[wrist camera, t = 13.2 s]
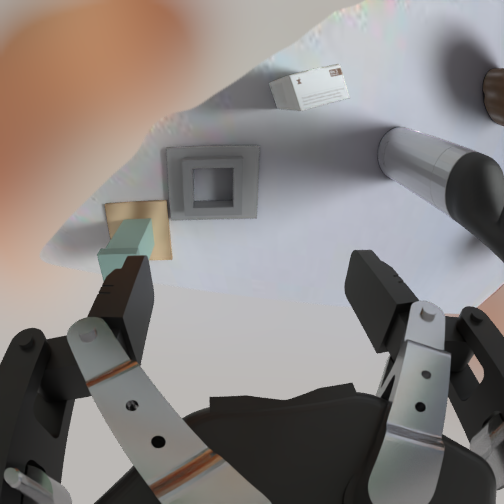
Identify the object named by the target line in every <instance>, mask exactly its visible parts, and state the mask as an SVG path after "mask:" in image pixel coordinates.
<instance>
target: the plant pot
mask: <svg viewBox="0 0 504 504" xmlns="http://www.w3.org/2000/svg"><path fill="white" fill-rule="evenodd" d="M483 92H484V94H485V98H484V103H485V107H486V109H487V112H488V114H489V115H490V117H491V118H492V120H493V121H494V122H496V123H497V124H499V125H502V126H504V68H495V69H491V70H490V71H489V72H488V73H487V74H486V76H485V79H484V83H483Z"/></svg>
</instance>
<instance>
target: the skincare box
mask: <svg viewBox="0 0 504 504" xmlns="http://www.w3.org/2000/svg"><path fill="white" fill-rule="evenodd" d="M269 86H270V89H271V92H272V94H273V97H274V100H275V103H276V106H277V108H278V109H286V110H298V111H304V110H307V109H311V108H314V107H318V106H321V105H325V104H329V103H333V102H337V101H341V100H344V99H349V98H350V97H349V93H348V90H347V86H346V83H345V80H344V76H343V73H342V70H341V66H340V65H339V64H336V65H331V66H326V67H321V68H314V69H311V70H307V71H303V72H299V73H295V74H291V75H288V76H285V77H282V78H280V79H277V80H274V81H272V82H270V83H269Z"/></svg>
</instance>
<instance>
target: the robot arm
mask: <svg viewBox="0 0 504 504" xmlns="http://www.w3.org/2000/svg"><path fill="white" fill-rule="evenodd" d="M378 161H379V165H380V168H381V169H382V171H383V173H384V174H385V175H386V176H388V177H389V178H391V179H392V180H394V181H396V182H397V183H399V184H400V185H402V186H404V187H405V188H407V189H408V190H410V191H412V192H413V193H415V194H416V195H418V196H419V197H421V198H422V199H424V200H425V201H427V202H429V203H430V204H432V205H433V206H434V207H436V208H437V209H439V210H441V211H442V212H443V213H445V214H446V215H448V216H449V217H451V218H452V219H453V220H455V221H456V222H458V223H459V224H460V225H462V226H463V227H464V228H465V229H467V230H468V231H469V232H471V233H472V234H473V235H474V236H476V237H477V238H478V239H479V240H480V241H482V242H483V243H484V244H485V245H486V246H487V247H488V248H489V249H490V250H491V251H493V252H494V253H495V254H496V255H497V256H498V257H499V258H500V259H501V260H502V261H503V262H504V175H503V172H502V170H501V168H500V166H499V164H498V163H497V162H496V161H495V160H493V159H492V158H490V157H489V156H486V155H484V154H481V153H479V152H476V151H474V150H471V149H469V148H466V147H463V146H460V145H458V144H455V143H452V142H449V141H446V140H443V139H440V138H437V137H434V136H431V135H428V134H425V133H422V132H419V131H415V130H412V129H408V128H404V127H397V128H394V129H392V130H390V131H389V132H388V133H386V134H385V136H384V137H383V138H382V140H381V142H380V145H379V149H378ZM345 294H346V297H347V299H348V301H349V303H350V304H351V306H352V308H353V310H354V312H355V313H356V315H357V317H358V319H359V321H360V323H361V324H362V326H363V328H364V330H365V332H366V334H367V336H368V338H369V339H370V341H371V343H372V345H373V347H374V348H375V351H376V353H382V352H388V351H389V353H390V356H389V357H388V360H387V363H386V366H385V369H384V372H383V375H382V379H381V382H380V385H379V388H378V391H377V394H376V396H374V395H371V394H366V393H360V392H356V390H355V388H354V385H353V383H348V384H343V385H336V386H330V387H324V388H319V389H316V390H314V391H311V392H309V393H306V394H303V395H300V396H297V397H295V398H292V399H289V400H277V399H268V398H260V397H253V396H229V397H210V407H209V408H205V409H202V410H199V411H196V412H194V413H191V414H189V415H187V416H186V417H184V418H181V417H180V416H179V415H178V414H177V412H176V411H175V410H174V409H173V408H172V406H171V405H170V404H169V403H168V402H167V400H166V399H165V398H164V397H163V396H162V394H161V393H160V392H159V391H158V389H157V388H156V386H155V385H154V384H153V383H152V381H151V380H150V379H149V377H148V376H147V375H146V373H145V372H144V371H143V369H142V368H141V367H140V365H141V360H142V355H143V349H144V345H145V340H146V336H147V331H148V327H149V322H150V318H151V313H152V309H153V305H154V289H153V283H152V278H151V272H150V266H149V260H148V257H147V255H133V256H127V258H126V260H125V262H124V264H123V266H122V268H121V269H114V270H113V271H112V272H111V273H110V274H109V275H108V276H106V278H105V280H104V283H103V285H102V287H101V289H100V291H99V294H98V295H97V297H96V299H95V301H94V303H93V306H92V308H91V310H90V312H89V314H88V317H87V318H83V319H81V320H79V321H77V322H75V323H74V324H73V325H72V326H71V327H70V328H69V330H68V333H67V336H62V337H57V338H52V339H46V338H45V336H44V334H43V332H42V331H41V330H39V329H36V328H29V329H25V330H23V331H21V332H19V333H18V334H17V335H16V336H15V337H14V338H13V339H12V341H11V343H10V345H9V347H8V349H7V351H6V353H5V356H4V357H3V360H2V362H1V364H0V504H72V500H71V497H70V494H69V493H68V491H67V490H66V489H65V487H64V486H63V485H61V477H62V469H63V462H64V455H65V448H66V442H67V436H68V431H69V426H70V420H71V416H72V411H73V406H74V402H75V399H77V398H83V397H89V396H92V397H93V399H94V401H95V403H96V404H97V407H98V408H99V410H100V412H101V414H102V416H103V417H104V419H105V421H106V423H107V424H108V426H109V428H110V429H111V431H112V433H113V434H114V436H115V438H116V439H117V441H118V442H119V444H120V446H121V447H122V449H123V450H124V452H125V453H126V455H127V456H128V458H129V459H130V461H131V462H132V464H133V465H134V466H133V467H132V468H131V469H130V470H129V471H128V472H127V473H126V474H125V475H124V476H123V477H122V478H121V479H119V481H118V482H116V483H115V484H114V485H113V486H112V487H111V488H110V489H109V490H108V491H107V492H106V493H105V494H104V495H103V496H102V497H101V498H99V500H97V501H96V502H95V503H94V504H496V490H500V489H502V488H504V337H503V335H502V334H501V333H500V331H499V330H498V329H497V328H496V326H495V325H494V324H493V322H492V321H491V320H490V319H489V317H488V316H487V315H486V314H485V313H484V312H483V311H481V310H480V309H478V308H475V307H470V306H469V307H465V308H463V309H462V311H461V313H460V315H459V317H448V316H445V315H444V313H443V311H442V310H441V309H440V308H439V307H438V306H436V305H435V304H433V303H430V302H427V301H419V300H418V298H417V297H416V296H415V295H414V293H413V292H412V291H411V290H410V288H409V287H408V286H407V285H406V284H405V283H404V282H403V280H402V279H401V277H399V276H398V274H397V273H396V271H395V270H394V269H393V268H392V267H391V266H389V265H388V264H386V263H384V262H383V261H381V260H380V259H379V258H378V257H377V256H376V254H375V253H374V252H373V251H372V250H354V251H353V252H352V254H351V258H350V262H349V267H348V271H347V276H346V280H345ZM474 354H475V356H476V357H477V359H478V361H479V362H480V364H481V365H482V367H483V369H484V378H483V380H482V382H481V383H480V384H479V382H478V380H477V379H476V377H475V375H474V374H473V372H472V370H471V369H470V367H469V365H468V363H469V361H470V359H471V358H472V356H473V355H474ZM448 397H449V399H450V401H451V403H452V406H453V407H454V410H455V412H456V414H457V416H458V418H459V420H460V422H461V424H462V427H463V429H464V431H465V433H466V436H467V438H468V440H469V442H470V450H469V449H467V448H466V447H464V446H462V445H460V444H458V443H457V442H455V441H453V440H451V439H450V438H448V437H446V436H445V435H443V434H442V432H443V427H444V420H445V413H446V407H447V398H448Z"/></svg>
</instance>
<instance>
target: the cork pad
mask: <svg viewBox="0 0 504 504" xmlns="http://www.w3.org/2000/svg"><path fill="white" fill-rule="evenodd" d="M105 211H106V217H107V223H108V228H109V234H110V239H112V237H113V236H114V234H115V233H116V231H117V229H118V228H119V226H120V225H121V223H122V222H123V220H125V219H147V218H151V219H152V228H153V236H154V244H155V245H154V247H153V250H152V253H151V256H150V259H149V260H172V249H171V240H170V230H169V219H168V207H167V200H154V201H136V202H120V203H106V204H105Z"/></svg>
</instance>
